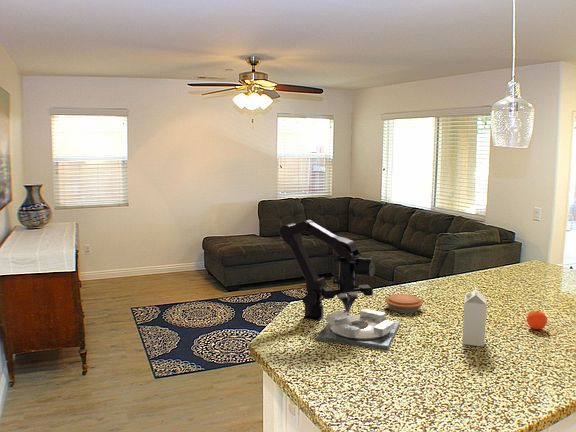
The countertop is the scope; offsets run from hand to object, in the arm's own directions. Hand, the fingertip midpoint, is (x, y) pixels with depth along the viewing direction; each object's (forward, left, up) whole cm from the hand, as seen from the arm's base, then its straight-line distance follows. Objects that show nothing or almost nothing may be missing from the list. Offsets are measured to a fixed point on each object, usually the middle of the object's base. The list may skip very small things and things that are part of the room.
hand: (347, 313), depth 201 cm
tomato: (+67, +19, -4) cm, 70 cm away
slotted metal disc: (+7, -8, -2) cm, 11 cm away
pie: (+18, +25, -4) cm, 31 cm away
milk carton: (+46, -3, -4) cm, 46 cm away
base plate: (+7, -8, -4) cm, 11 cm away
